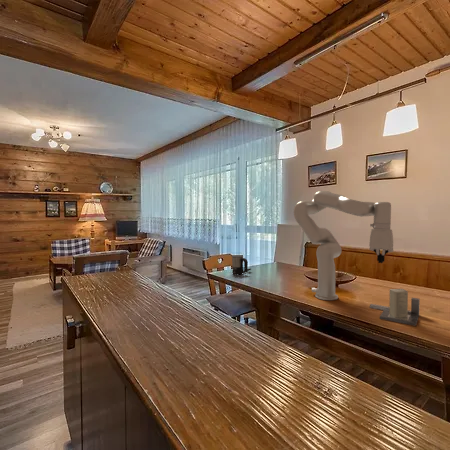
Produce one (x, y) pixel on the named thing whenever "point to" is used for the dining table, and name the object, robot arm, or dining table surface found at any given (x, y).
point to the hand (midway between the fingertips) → (380, 262)
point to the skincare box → (398, 303)
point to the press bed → (399, 318)
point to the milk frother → (239, 264)
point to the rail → (414, 310)
